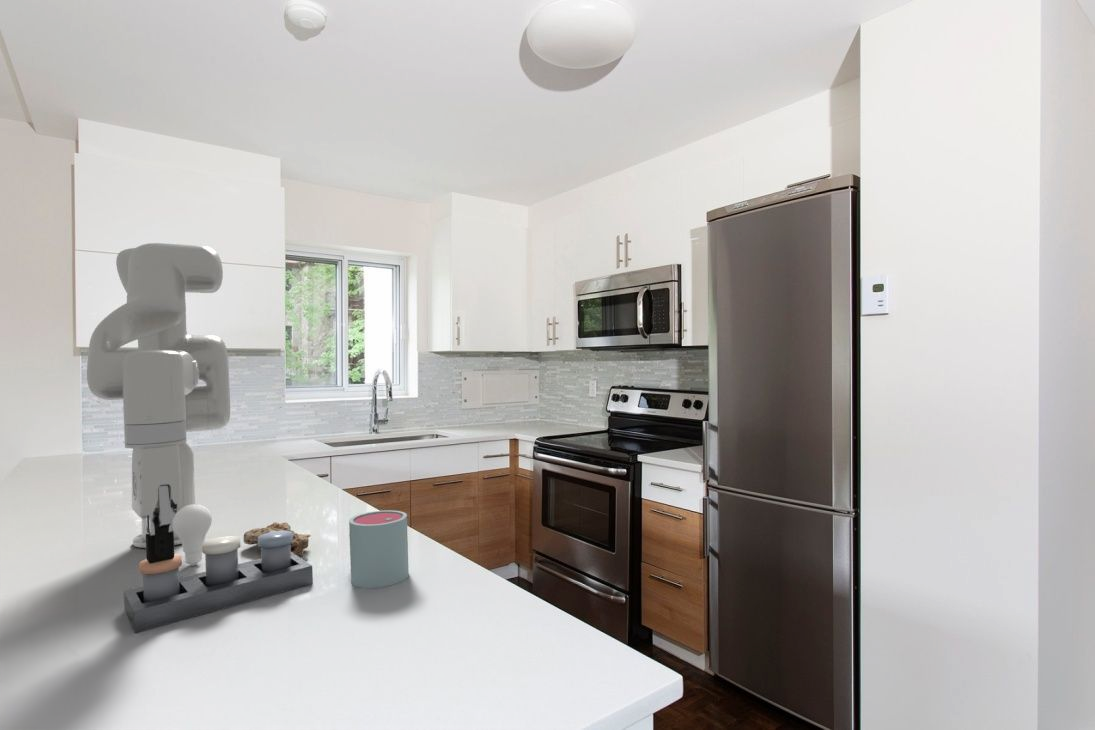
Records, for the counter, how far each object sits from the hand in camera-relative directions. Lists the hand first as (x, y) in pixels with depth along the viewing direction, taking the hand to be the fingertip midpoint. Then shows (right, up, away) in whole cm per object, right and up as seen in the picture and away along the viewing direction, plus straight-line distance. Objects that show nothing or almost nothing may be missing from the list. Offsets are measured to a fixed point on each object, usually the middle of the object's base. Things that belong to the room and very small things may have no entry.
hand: (160, 559), depth 86 cm
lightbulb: (-7, -8, +20) cm, 23 cm away
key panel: (+6, -8, +6) cm, 11 cm away
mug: (+27, -7, +14) cm, 31 cm away
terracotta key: (0, -6, 0) cm, 6 cm away
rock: (+5, -8, +29) cm, 31 cm away
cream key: (+6, -5, +6) cm, 10 cm away
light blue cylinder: (+12, -6, +11) cm, 17 cm away
